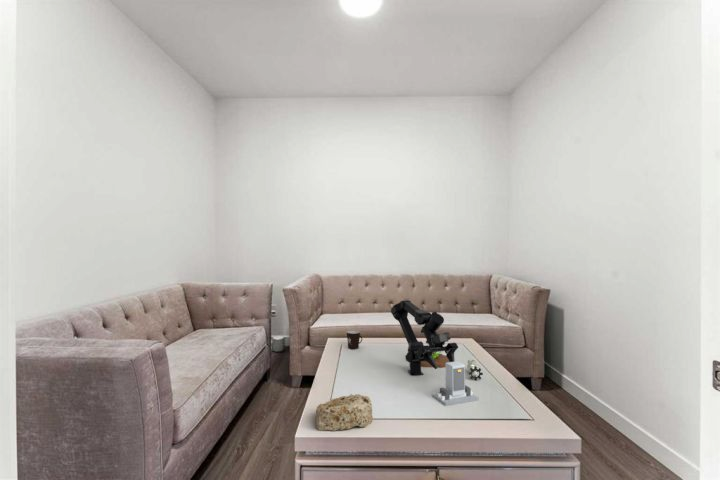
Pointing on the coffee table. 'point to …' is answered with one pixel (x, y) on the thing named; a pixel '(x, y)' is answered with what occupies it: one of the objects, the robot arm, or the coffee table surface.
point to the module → (455, 378)
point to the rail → (454, 397)
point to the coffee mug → (353, 339)
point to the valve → (473, 370)
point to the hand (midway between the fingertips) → (445, 367)
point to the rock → (344, 413)
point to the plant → (437, 360)
